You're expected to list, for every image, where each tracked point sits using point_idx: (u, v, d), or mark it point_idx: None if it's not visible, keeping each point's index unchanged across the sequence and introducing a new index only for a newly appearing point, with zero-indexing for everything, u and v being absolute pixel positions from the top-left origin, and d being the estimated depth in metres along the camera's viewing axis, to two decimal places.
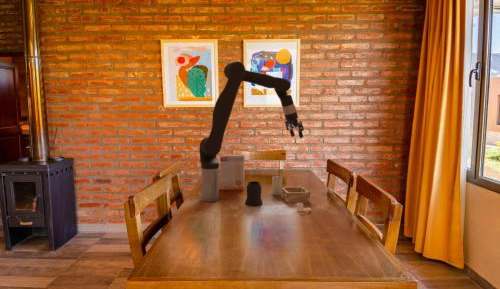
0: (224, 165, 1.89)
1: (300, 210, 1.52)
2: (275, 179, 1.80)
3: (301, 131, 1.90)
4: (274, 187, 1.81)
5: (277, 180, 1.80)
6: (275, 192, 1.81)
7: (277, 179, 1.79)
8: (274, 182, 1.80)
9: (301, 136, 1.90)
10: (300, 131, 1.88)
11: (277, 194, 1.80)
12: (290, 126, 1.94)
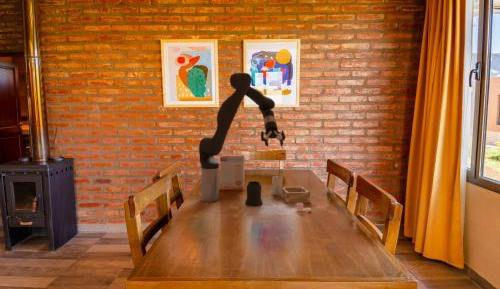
0: (224, 165, 1.89)
1: (300, 210, 1.52)
2: (275, 179, 1.80)
3: (282, 140, 1.90)
4: (274, 187, 1.81)
5: (277, 180, 1.80)
6: (275, 192, 1.81)
7: (277, 179, 1.79)
8: (274, 182, 1.80)
9: None
10: (284, 138, 1.89)
11: (277, 194, 1.80)
12: (270, 134, 1.90)
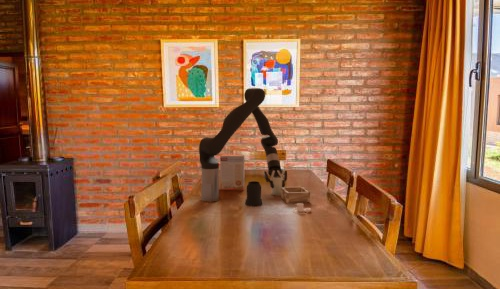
0: (224, 165, 1.89)
1: (300, 210, 1.52)
2: (275, 179, 1.80)
3: (284, 181, 1.84)
4: (274, 187, 1.81)
5: (277, 180, 1.80)
6: (275, 192, 1.81)
7: (277, 179, 1.79)
8: (274, 182, 1.80)
9: (284, 185, 1.82)
10: (286, 179, 1.84)
11: (277, 194, 1.80)
12: (274, 174, 1.85)
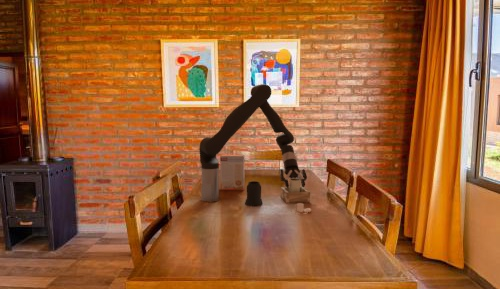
0: (224, 165, 1.89)
1: (300, 210, 1.51)
2: (293, 182, 1.69)
3: (303, 180, 1.74)
4: (291, 190, 1.70)
5: (295, 183, 1.69)
6: None
7: (295, 182, 1.69)
8: (291, 185, 1.70)
9: None
10: (306, 177, 1.73)
11: None
12: (290, 173, 1.73)
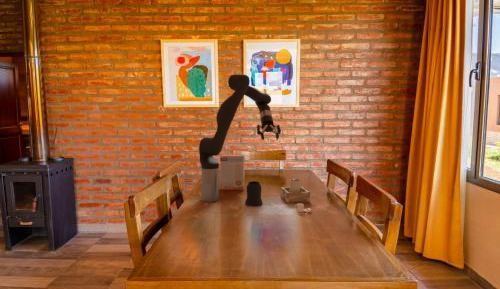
0: (224, 165, 1.89)
1: (300, 211, 1.51)
2: (293, 182, 1.69)
3: None
4: (292, 190, 1.70)
5: (295, 183, 1.68)
6: None
7: (295, 182, 1.68)
8: (292, 185, 1.69)
9: (278, 136, 1.92)
10: (280, 131, 1.94)
11: None
12: (266, 127, 1.94)
